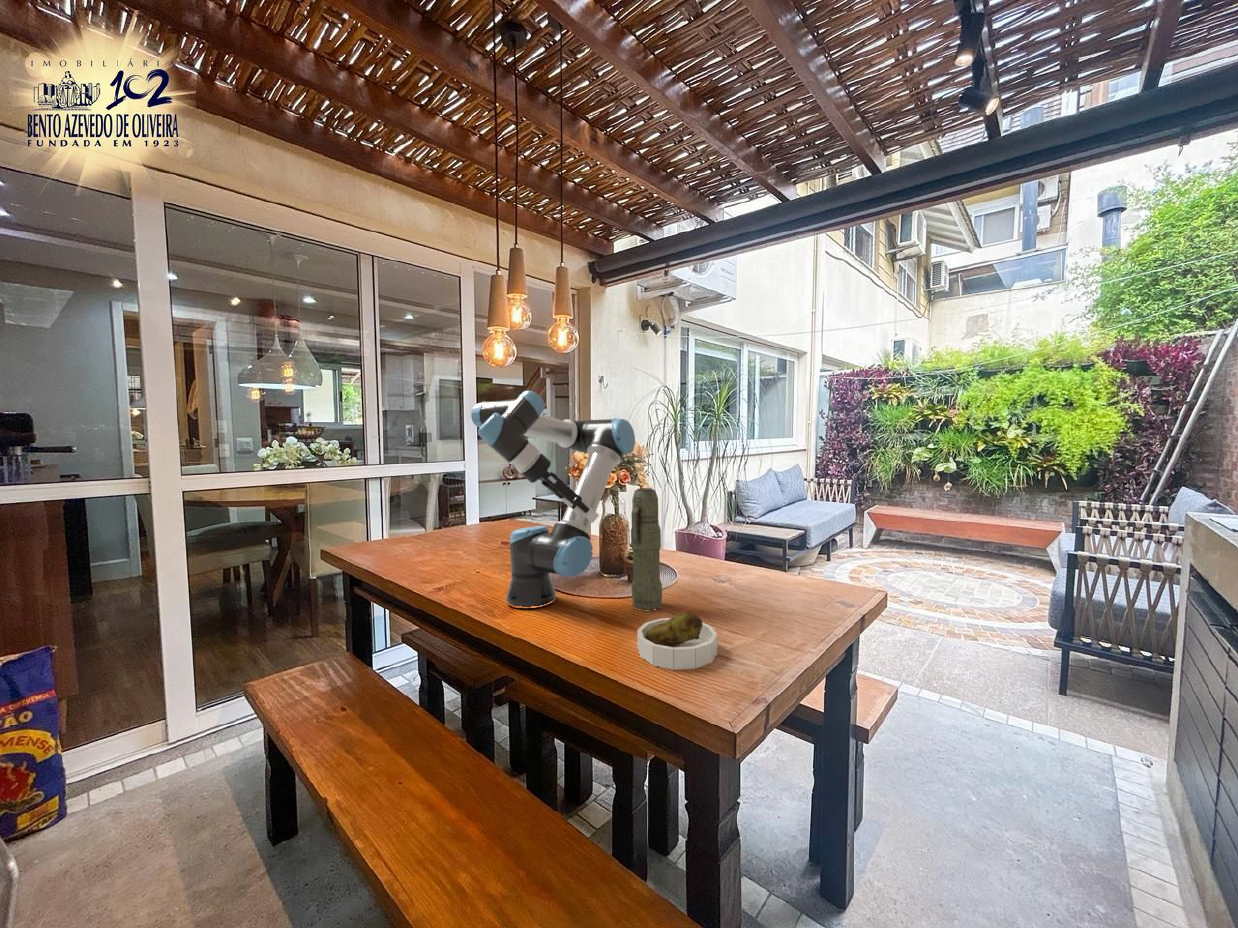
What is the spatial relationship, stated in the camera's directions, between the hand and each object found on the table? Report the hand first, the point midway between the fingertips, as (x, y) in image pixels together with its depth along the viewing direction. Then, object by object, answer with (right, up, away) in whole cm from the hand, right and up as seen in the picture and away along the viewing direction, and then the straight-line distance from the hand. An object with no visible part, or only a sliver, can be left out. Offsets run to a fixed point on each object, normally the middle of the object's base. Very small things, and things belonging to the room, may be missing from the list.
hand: (588, 514), depth 133 cm
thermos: (+17, -29, +12) cm, 35 cm away
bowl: (+22, -30, -19) cm, 42 cm away
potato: (+21, -29, -18) cm, 41 cm away
